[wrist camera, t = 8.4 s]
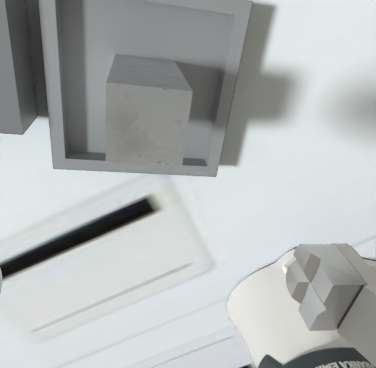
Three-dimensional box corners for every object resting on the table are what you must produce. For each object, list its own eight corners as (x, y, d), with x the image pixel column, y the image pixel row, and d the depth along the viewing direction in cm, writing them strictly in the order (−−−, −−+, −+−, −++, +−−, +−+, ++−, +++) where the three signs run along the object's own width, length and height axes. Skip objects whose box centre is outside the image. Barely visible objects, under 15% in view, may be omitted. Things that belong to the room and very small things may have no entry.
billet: (174, 61, 24) (192, 91, 17) (168, 119, 27) (181, 168, 19) (115, 54, 23) (106, 82, 16) (114, 114, 26) (105, 164, 18)
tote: (242, 0, 24) (252, 1, 22) (210, 164, 31) (216, 176, 29) (45, -33, 21) (35, -36, 19) (59, 155, 28) (53, 168, 26)
